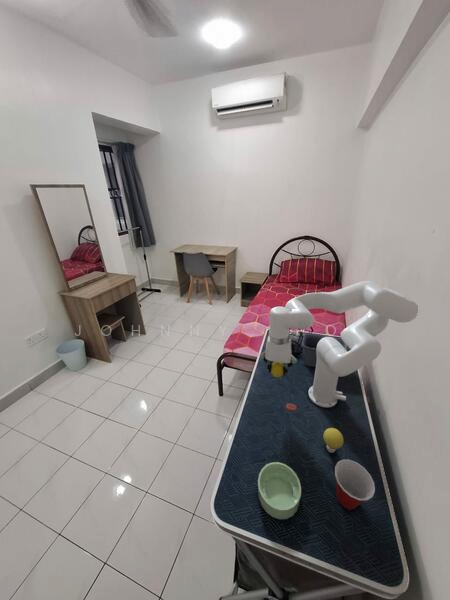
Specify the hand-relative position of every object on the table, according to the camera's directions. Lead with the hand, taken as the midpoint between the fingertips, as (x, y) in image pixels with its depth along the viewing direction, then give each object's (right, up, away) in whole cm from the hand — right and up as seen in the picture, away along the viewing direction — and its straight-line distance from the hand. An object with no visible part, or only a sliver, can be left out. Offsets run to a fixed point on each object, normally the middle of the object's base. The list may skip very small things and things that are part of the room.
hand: (277, 371), depth 102 cm
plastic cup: (+17, -33, -26) cm, 45 cm away
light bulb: (+17, -26, -12) cm, 33 cm away
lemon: (0, -3, +1) cm, 3 cm away
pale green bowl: (-5, -33, -24) cm, 41 cm away
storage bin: (+31, -4, +30) cm, 43 cm away
